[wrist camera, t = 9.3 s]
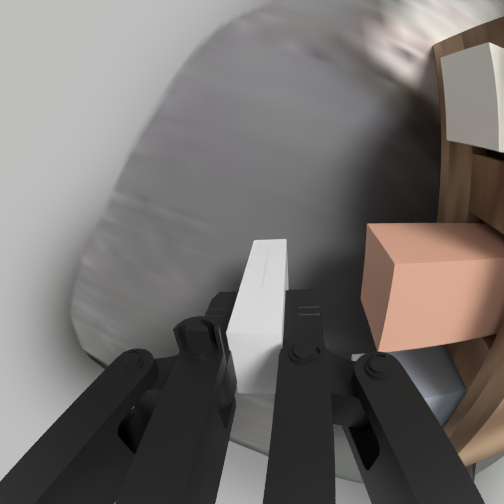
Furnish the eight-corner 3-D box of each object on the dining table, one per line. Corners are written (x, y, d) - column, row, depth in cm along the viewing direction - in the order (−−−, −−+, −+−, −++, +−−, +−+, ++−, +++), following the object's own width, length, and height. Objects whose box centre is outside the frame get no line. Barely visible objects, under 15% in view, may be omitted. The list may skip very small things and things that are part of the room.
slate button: (455, 378, 16) (471, 417, 12) (343, 394, 17) (348, 443, 14) (474, 338, 14) (497, 379, 11) (351, 354, 15) (361, 408, 12)
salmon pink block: (492, 287, 13) (526, 326, 9) (360, 298, 14) (377, 353, 10) (507, 223, 11) (551, 254, 7) (366, 223, 12) (395, 263, 9)
